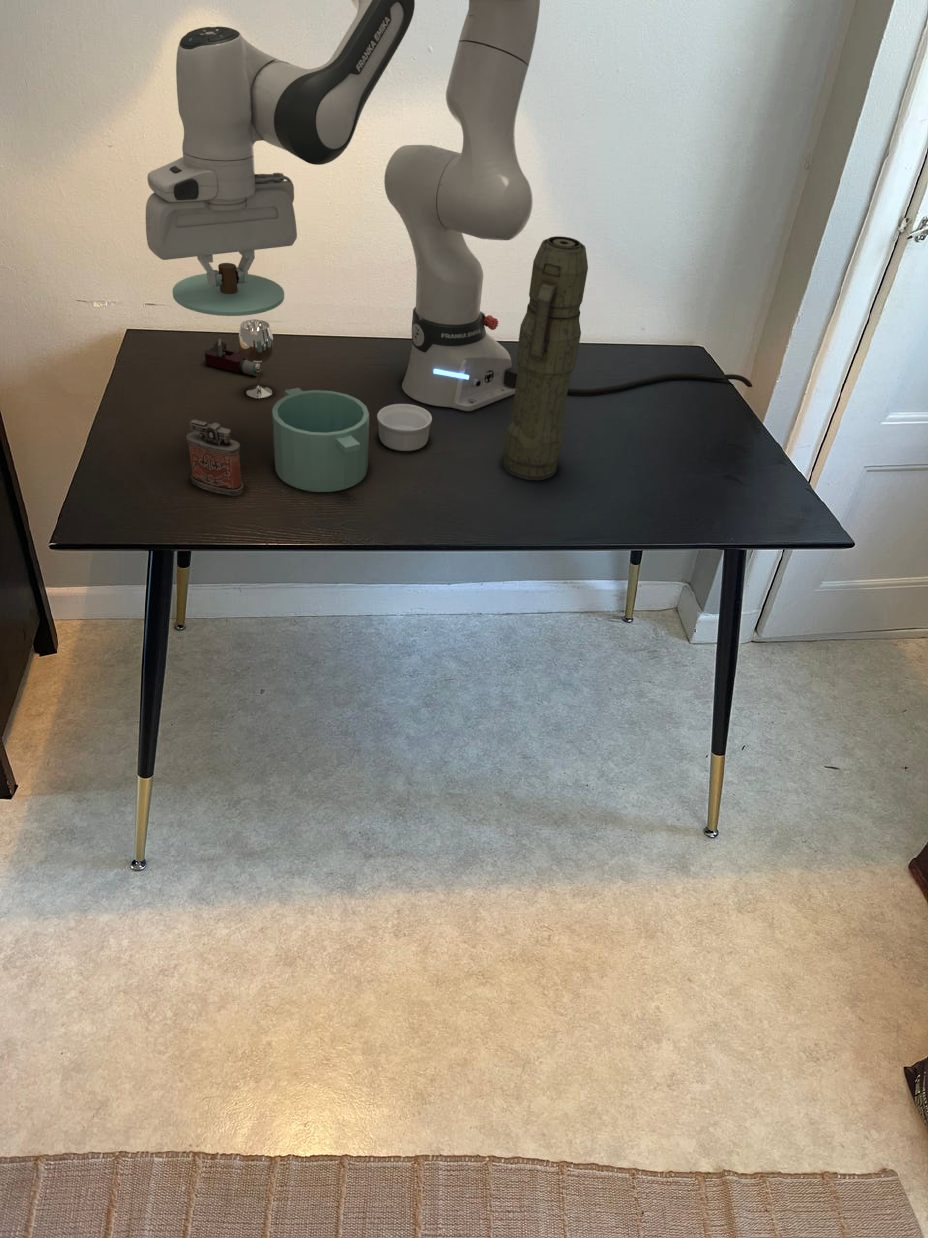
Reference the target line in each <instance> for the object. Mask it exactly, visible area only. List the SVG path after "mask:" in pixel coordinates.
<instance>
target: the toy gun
mask: <svg viewBox="0 0 928 1238" xmlns="http://www.w3.org/2000/svg"><path fill="white" fill-rule="evenodd" d="M203 354H204V361H205V362H204V363H205V364H206V366H210V367H213V368H218V369H222V370H226V371H228V372H233V373H237V374H240V373H243V374H245V375H249V376H253V377H257V374H256V371H255V364H256V363H253V362H249V361H247V360H246V359H244V357H243V356H242V355H241V353H240V350H239V351H238V352H237V351H234V350H230V349H227V344H226V342H222V338H218V340H217V341H216V342H215V343H214V344H213V346H212V347H211V348H209V349H207V350H204V353H203ZM261 371H262V369H261V370H260V372H261Z"/></svg>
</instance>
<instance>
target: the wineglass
mask: <svg viewBox="0 0 928 1238" xmlns="http://www.w3.org/2000/svg"><path fill="white" fill-rule="evenodd" d="M274 342H275V341H274V335H273V332H272V329H271V326H270V324H269V322H268V321H265V320H262V319H247V320H244V321H242V322H241V323H240V327H239V332H238V350H239V351H240V353H241V355H242V356H243V357H244V359H246V360H247V361H249V362H253V363H256V364H255V371H256V374H257V376H256V385H255V386H250V387H249V388H247V389H246V390H245V393H246V396H248V397H250V398H253V399H266V398H269V397H271V396H272V395H273V390H272V389H271V388H270V387H267V386H265V385H264V386H263V385H262V384H261V376H260V374H261V371H260V370H262V369H261V368H262V366H261V364H262V363H266V362H267V361H269V360H270V359H271V357H272V356H273V354H274V351H275V343H274Z"/></svg>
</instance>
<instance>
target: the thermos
mask: <svg viewBox="0 0 928 1238" xmlns="http://www.w3.org/2000/svg"><path fill="white" fill-rule="evenodd" d="M588 271H589V265H588V256H587V248H586V245H584V244H583V243H582V242H581V241H579V240H578V239H575V238H572V237H568V236H561V235H559V236H557V235H556V236H550V237H548V238H545V239H543V240H542V241H541V243H540V246H539V248H538V250H537V252H536V254H535V257H534V259H533V262H532V268H531V276H530V277H531V278H530V283H529V284H530V285H529V290H528V291H529V293H528V297H529V301H528V304H527V307H526V313H525V315H524V317H523V319H522V321H521V323H520V326H519V335H518V340H517V341H518V342H517V350H516V356H515V358H516V363H517V364H518V373H517V381H516V388H515V394H514V396H513V404H512V405H513V406H512V410H511V411H512V412H511V419H510V424H509V426H508V428H507V429H506V430H505V436H504V437H505V438H504V445H503V450H504V456H503V460H502V465H503V468H504V469H505V471H506V472H507V473H509V474H510V475H511V476H513V477H517V478H519V479H523V480H527V481H543V480H546V479H550V478H551V477H553V476H554V475H555V474H556V472H557V468H558V461H559V458H560V457H561V452H562V446H563V440H564V439H563V438H564V429H563V420H564V414H565V409H566V402H567V397H568V394H567V392H568V388H569V385H570V380H571V374H572V372H573V371H574V369H575V367H576V365H577V357H578V353H579V347H580V341H581V336H582V330H581V322H580V316H581V310H580V308H581V305H582V303H583V299H584V293H585V288H586V281H587V276H588Z"/></svg>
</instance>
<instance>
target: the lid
mask: <svg viewBox="0 0 928 1238" xmlns="http://www.w3.org/2000/svg"><path fill="white" fill-rule="evenodd" d="M236 267H237V265H236V264H234V263H232V262H221V263H219V264H218V265H217V268H218V269H217V270H218V271H219V272H220V273H221V274H222V280H221V281H222V286H217V287H211V286H210V285H209V284H208V281H207V272H206V273H200V274H195V275H191V276H189V277H185V278H183V279H181V280H180V281H178V282H176V283H175V285H174V286H173V287H172V290H171V292H172V297H173V300H174V301H175V302H176V303H177V304H178V305H179V306H181V307H183V308H185V309H187V310H189V311H193V312H197V313H199V314H205V315H209V316H210V315H211V316H222V317H242V316H243V317H245V316H252V315H259V314H263V313H266V312H269V311H271V310H273V309H276V308H278V307H280V305H281V304H283V302H284V300H285V291H284V289H283V287H282V286H281V285H280V284H279V283H278V282H276V281H274V280H272V279H270V278H267V277H263V276H260V275H255V274H251V273H248V282H247V283H241V284H237V271H236Z"/></svg>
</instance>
